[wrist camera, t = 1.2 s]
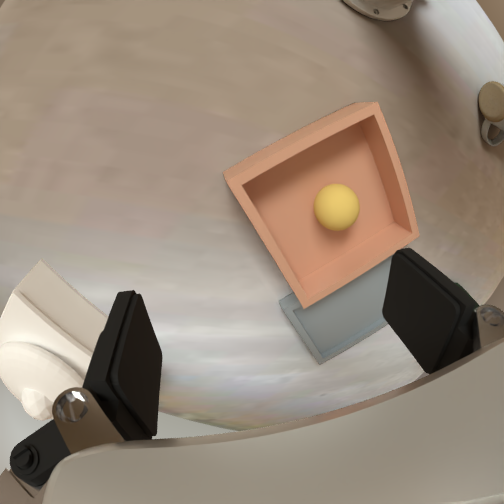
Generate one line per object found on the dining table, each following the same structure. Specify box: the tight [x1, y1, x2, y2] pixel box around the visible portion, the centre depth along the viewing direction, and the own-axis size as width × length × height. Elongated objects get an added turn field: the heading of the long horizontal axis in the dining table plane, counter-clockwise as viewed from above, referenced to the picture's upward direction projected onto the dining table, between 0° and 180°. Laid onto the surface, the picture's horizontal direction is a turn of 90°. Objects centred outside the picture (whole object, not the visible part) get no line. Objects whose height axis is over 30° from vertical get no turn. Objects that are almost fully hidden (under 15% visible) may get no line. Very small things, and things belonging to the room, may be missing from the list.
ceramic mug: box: [479, 82, 504, 146], centre depth 27 cm, size 11×8×8 cm
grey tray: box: [279, 248, 402, 365], centre depth 39 cm, size 18×14×2 cm
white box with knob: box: [0, 258, 108, 420], centre depth 28 cm, size 18×18×16 cm
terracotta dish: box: [223, 102, 419, 309], centre depth 30 cm, size 17×17×5 cm
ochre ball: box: [313, 184, 360, 231], centre depth 29 cm, size 5×5×5 cm
